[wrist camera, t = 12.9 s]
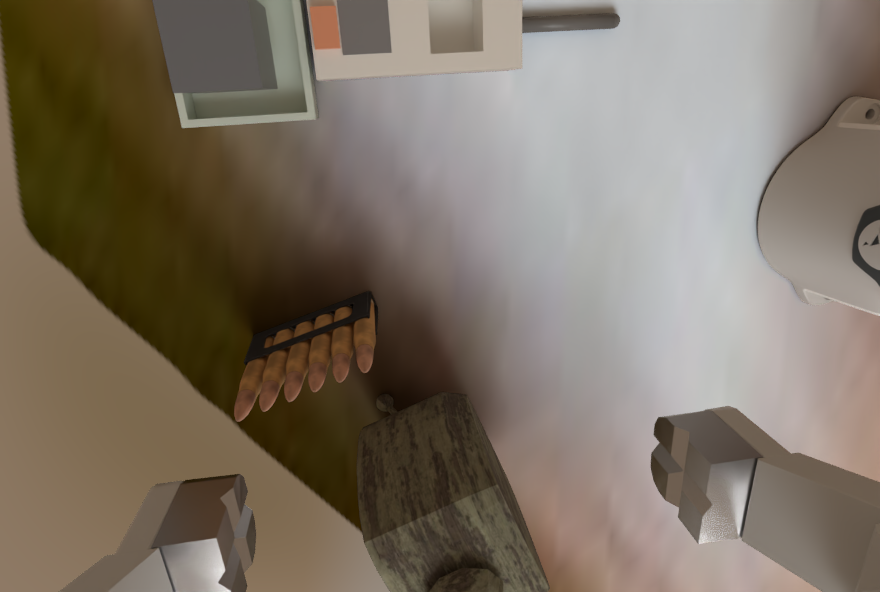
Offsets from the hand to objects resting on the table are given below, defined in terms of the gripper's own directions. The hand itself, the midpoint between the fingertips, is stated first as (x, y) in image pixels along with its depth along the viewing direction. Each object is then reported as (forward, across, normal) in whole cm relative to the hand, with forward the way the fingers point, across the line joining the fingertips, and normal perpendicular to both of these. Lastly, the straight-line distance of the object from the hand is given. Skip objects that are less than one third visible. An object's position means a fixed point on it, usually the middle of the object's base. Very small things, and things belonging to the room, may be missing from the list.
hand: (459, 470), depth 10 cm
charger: (+33, +9, -10) cm, 36 cm away
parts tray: (+34, +9, -10) cm, 37 cm away
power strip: (+34, -7, -11) cm, 37 cm away
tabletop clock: (+34, -2, +23) cm, 42 cm away
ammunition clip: (+34, +7, +11) cm, 37 cm away
